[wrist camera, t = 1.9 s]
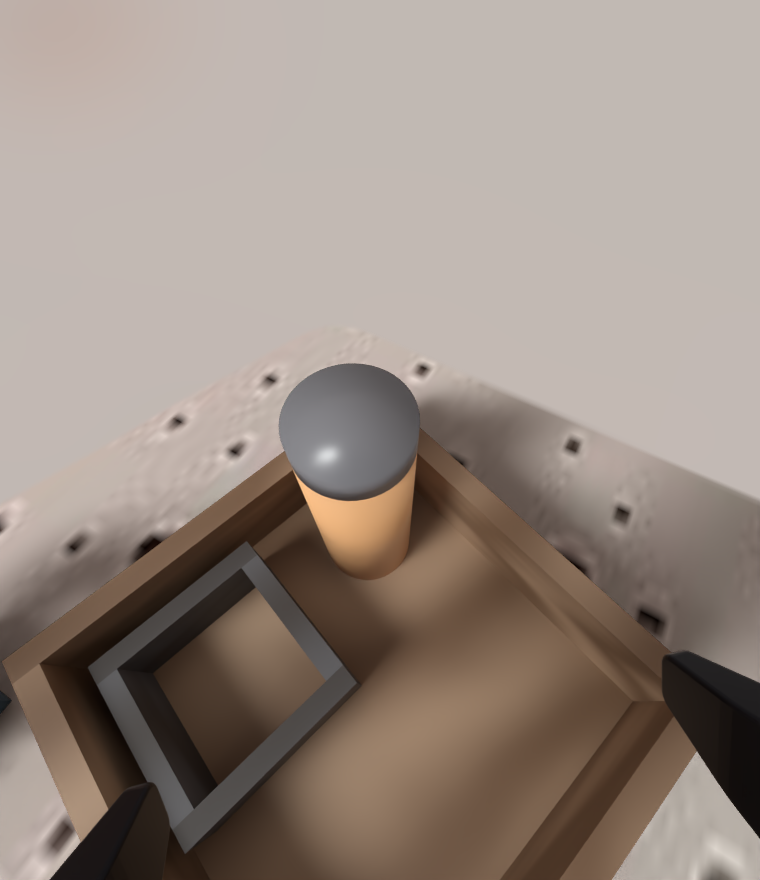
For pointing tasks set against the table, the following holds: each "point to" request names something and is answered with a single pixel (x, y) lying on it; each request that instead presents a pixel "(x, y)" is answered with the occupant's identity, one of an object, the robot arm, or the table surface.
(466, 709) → the walled box
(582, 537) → the table surface
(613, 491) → the table surface
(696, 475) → the table surface
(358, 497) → the grey-capped orange cylinder
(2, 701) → the watch
